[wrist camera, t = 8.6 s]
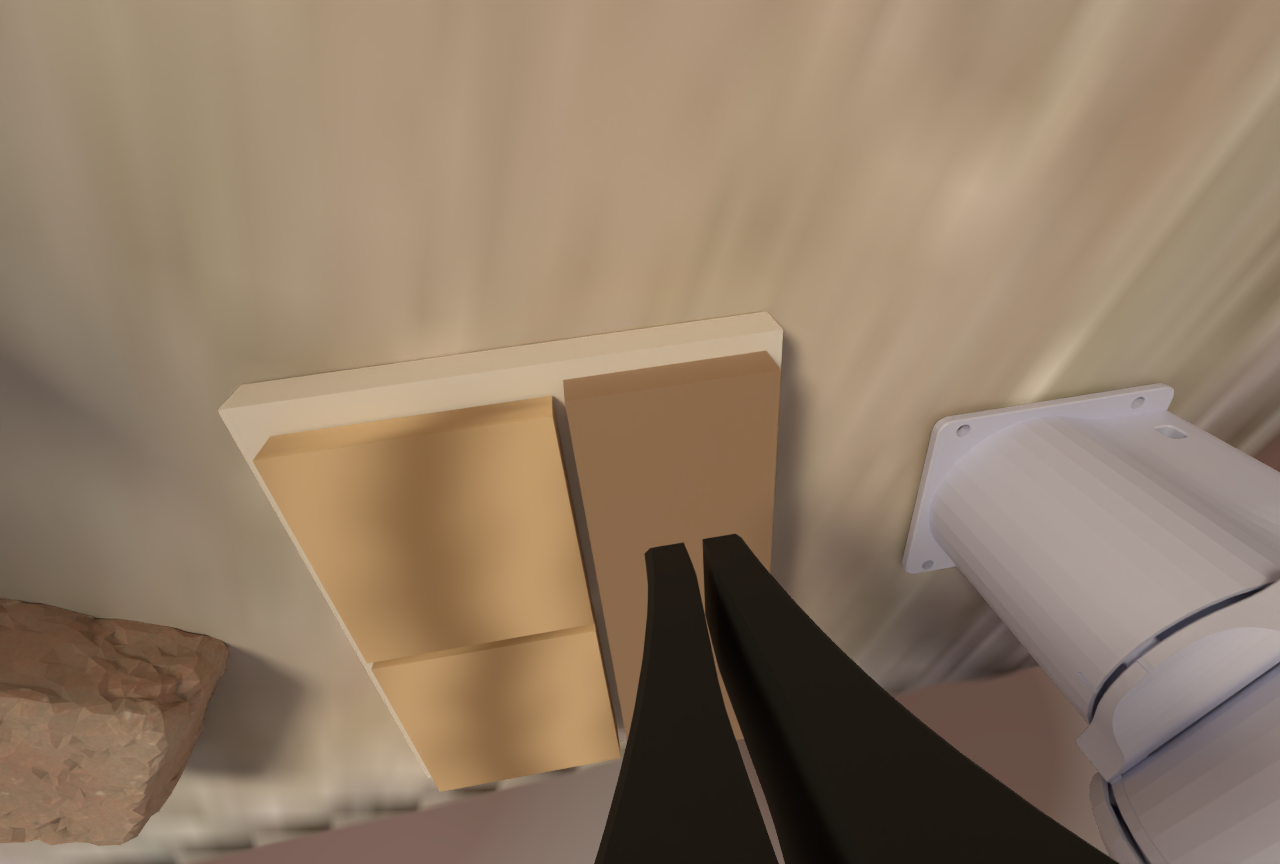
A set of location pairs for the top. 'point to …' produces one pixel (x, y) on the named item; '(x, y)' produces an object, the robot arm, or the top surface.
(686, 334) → the floor board
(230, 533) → the top surface
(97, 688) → the brick
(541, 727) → the plank
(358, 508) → the plank
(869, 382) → the top surface
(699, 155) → the top surface
